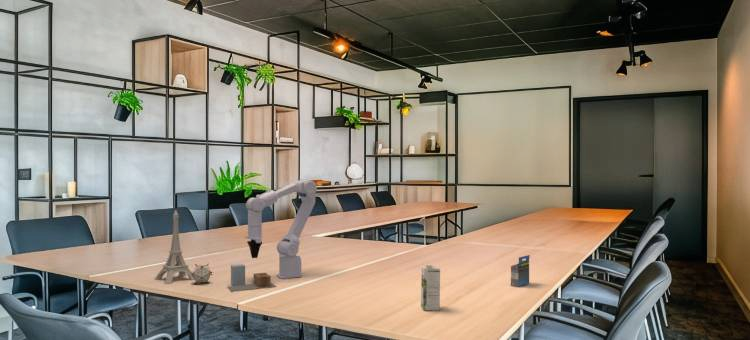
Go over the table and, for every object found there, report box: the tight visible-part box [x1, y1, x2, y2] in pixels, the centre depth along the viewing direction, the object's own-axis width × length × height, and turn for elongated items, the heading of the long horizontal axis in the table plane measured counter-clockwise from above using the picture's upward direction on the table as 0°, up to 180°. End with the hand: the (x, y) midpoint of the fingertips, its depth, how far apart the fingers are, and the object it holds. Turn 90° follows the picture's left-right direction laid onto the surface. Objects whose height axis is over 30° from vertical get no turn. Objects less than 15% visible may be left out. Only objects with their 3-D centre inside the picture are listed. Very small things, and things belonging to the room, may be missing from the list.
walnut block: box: [253, 272, 272, 287], centre depth 209 cm, size 5×4×8 cm
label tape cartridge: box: [510, 254, 530, 288], centre depth 211 cm, size 9×4×12 cm, turn 134°
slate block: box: [230, 263, 246, 286], centre depth 210 cm, size 5×4×8 cm
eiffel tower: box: [153, 209, 195, 285], centre depth 220 cm, size 13×13×30 cm
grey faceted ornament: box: [191, 263, 213, 285], centre depth 212 cm, size 9×8×10 cm
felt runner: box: [226, 282, 277, 292], centre depth 206 cm, size 18×8×1 cm, turn 117°
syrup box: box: [420, 264, 441, 311], centre depth 176 cm, size 6×6×14 cm
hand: (254, 257), depth 216 cm, fingers closed
